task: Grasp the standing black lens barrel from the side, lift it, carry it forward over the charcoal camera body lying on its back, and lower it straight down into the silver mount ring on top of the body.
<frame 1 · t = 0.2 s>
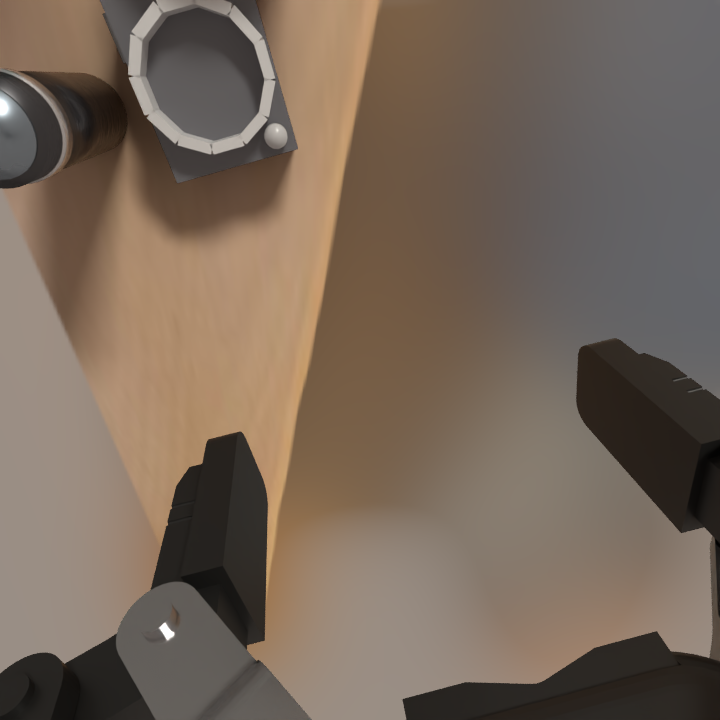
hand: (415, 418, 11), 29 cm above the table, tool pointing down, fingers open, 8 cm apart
camera body: (214, 78, 32), on the table
lens: (89, 113, 32), on the table
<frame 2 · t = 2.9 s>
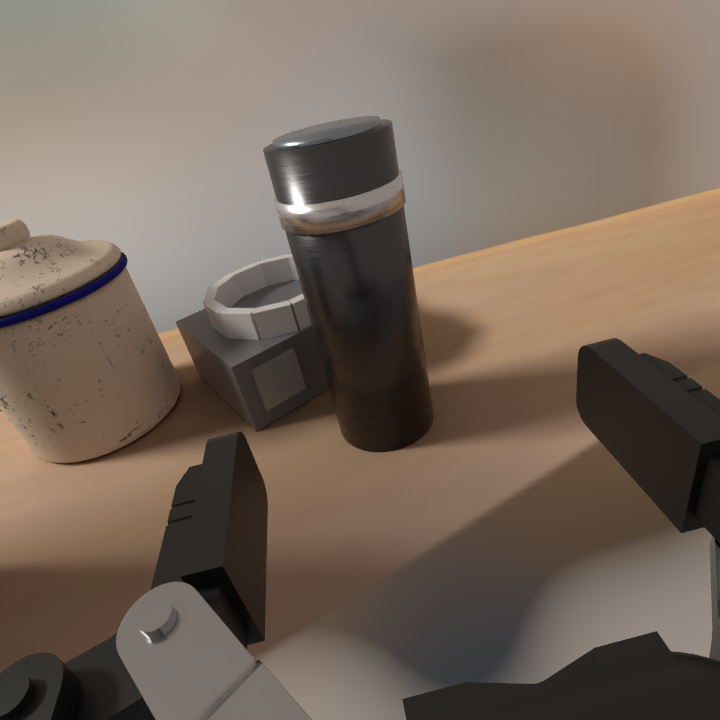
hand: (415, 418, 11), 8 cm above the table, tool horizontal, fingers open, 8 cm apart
camera body: (297, 361, 30), on the table
lens: (386, 418, 24), on the table
teacup with lid: (88, 423, 29), on the table
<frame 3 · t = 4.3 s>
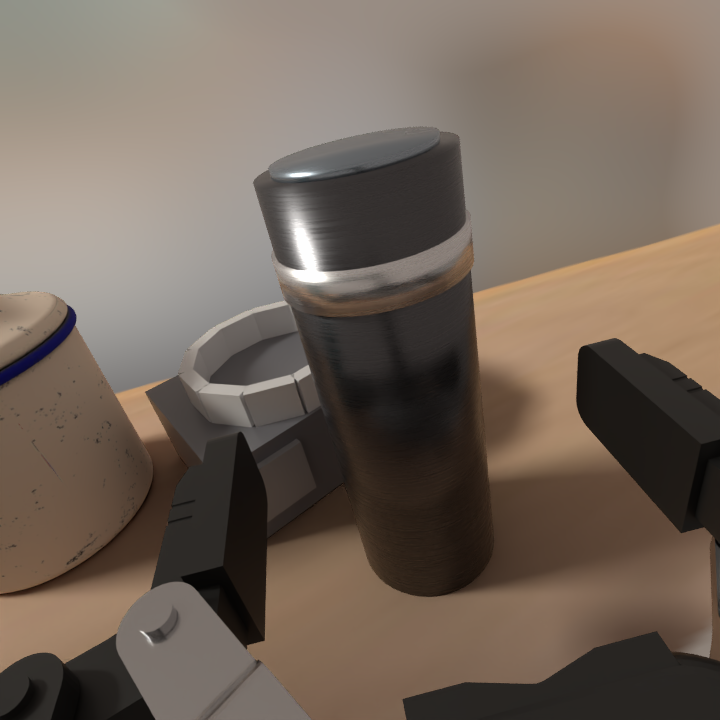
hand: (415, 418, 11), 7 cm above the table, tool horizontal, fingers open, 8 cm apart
camera body: (302, 436, 24), on the table
lens: (427, 535, 18), on the table
teacup with lid: (34, 524, 23), on the table
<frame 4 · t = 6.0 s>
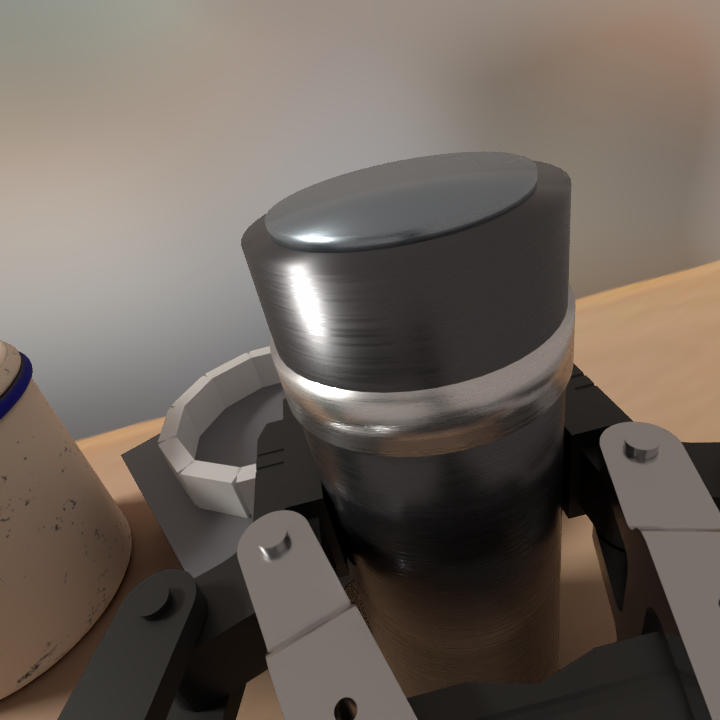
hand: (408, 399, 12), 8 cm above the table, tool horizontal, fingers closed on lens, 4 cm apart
camera body: (310, 504, 20), on the table
lens: (469, 663, 14), on the table, touching gripper
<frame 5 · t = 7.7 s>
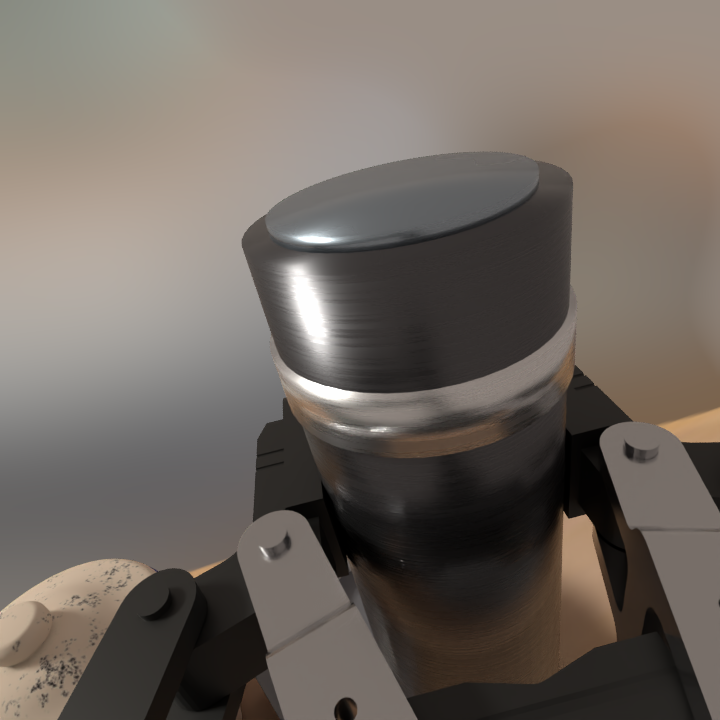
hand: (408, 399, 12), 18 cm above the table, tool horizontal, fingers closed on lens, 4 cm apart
camera body: (391, 676, 23), on the table
lens: (470, 663, 14), point 10 cm above the table, touching gripper
when the fingers open (13 cm above the table, at t = 9.9 s): lens drops 1 cm, resting on camera body.
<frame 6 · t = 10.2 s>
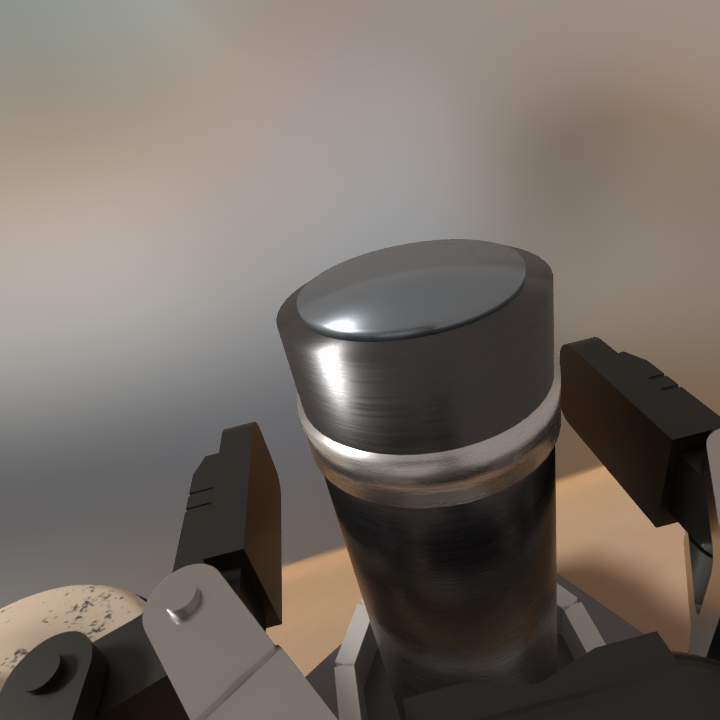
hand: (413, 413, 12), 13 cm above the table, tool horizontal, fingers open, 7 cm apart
lens: (474, 693, 14), point 4 cm above the table, touching camera body
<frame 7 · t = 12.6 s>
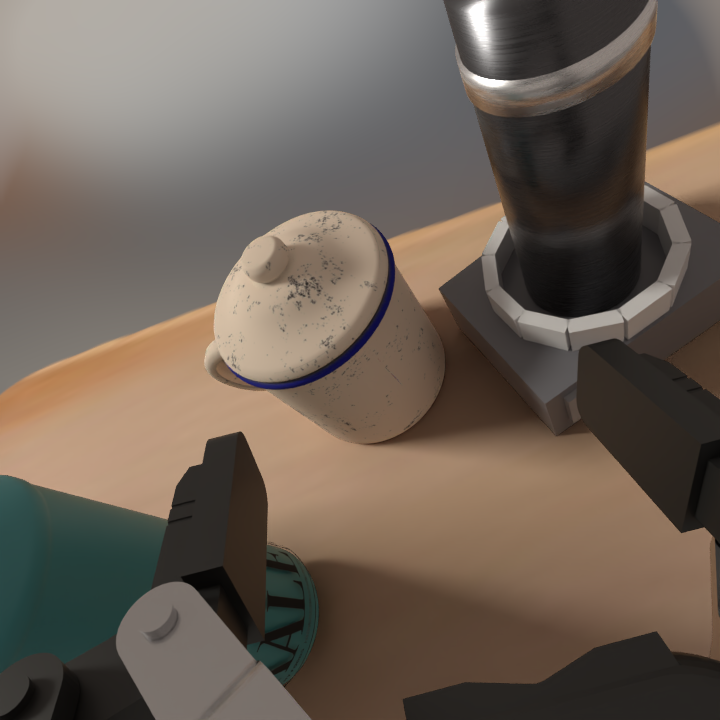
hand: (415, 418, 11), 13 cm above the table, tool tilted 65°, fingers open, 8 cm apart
beverage bottle: (285, 617, 24), on the table
camera body: (584, 317, 25), on the table
lens: (579, 272, 21), point 4 cm above the table, touching camera body
teacup with lid: (355, 382, 29), on the table
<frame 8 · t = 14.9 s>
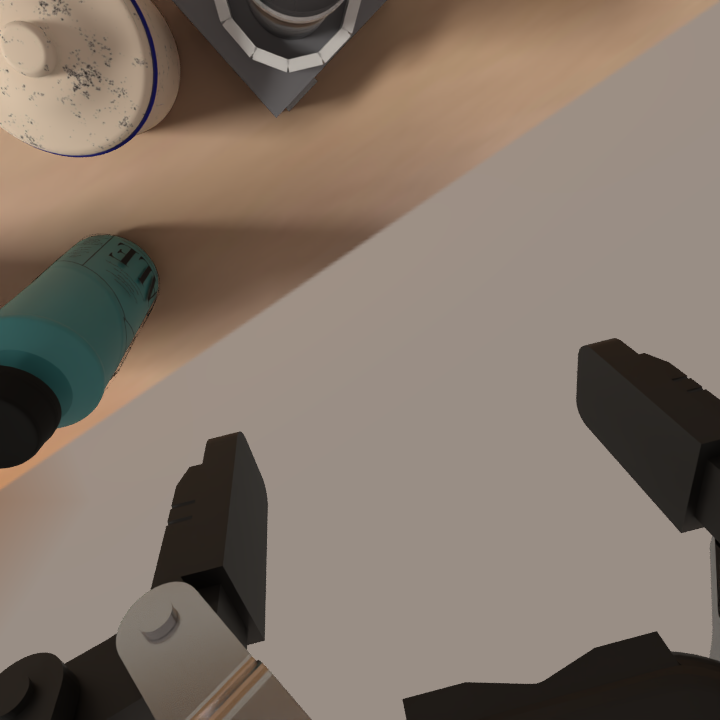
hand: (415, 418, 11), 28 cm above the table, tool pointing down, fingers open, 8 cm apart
beverage bottle: (121, 267, 36), on the table
teacup with lid: (87, 66, 30), on the table
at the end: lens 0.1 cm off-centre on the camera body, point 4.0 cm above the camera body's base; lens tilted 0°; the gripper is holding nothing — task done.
